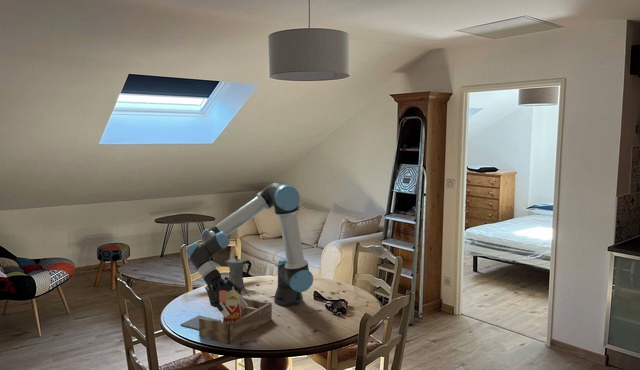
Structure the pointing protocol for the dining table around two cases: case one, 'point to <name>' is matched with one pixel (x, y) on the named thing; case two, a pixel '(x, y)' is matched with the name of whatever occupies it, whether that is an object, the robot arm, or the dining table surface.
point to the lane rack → (237, 322)
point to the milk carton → (232, 307)
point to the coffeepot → (237, 270)
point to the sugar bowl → (222, 296)
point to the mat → (195, 322)
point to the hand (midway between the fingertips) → (236, 311)
